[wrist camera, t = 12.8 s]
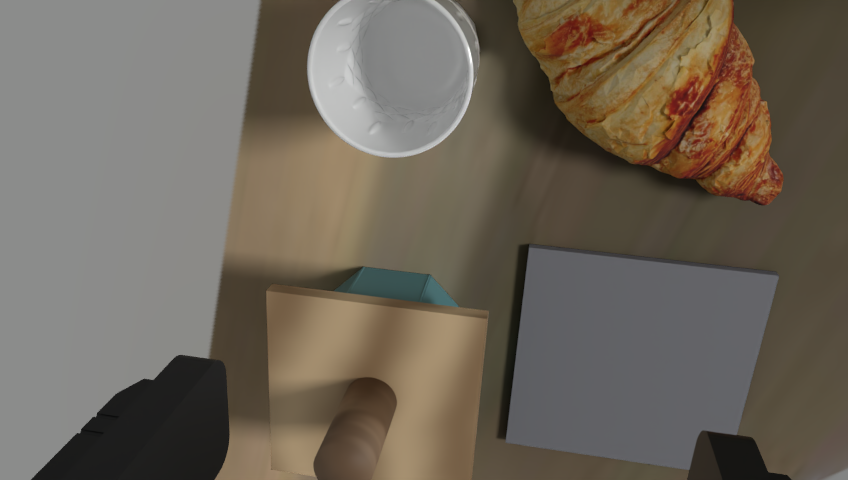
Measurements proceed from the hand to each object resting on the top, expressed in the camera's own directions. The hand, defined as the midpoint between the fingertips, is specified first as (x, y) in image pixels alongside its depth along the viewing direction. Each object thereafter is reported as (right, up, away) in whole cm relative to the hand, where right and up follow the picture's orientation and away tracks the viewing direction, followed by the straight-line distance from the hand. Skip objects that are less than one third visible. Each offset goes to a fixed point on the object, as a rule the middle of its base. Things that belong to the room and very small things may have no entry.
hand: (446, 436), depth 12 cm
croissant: (+12, +14, +29) cm, 34 cm away
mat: (+13, -5, +36) cm, 38 cm away
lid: (-3, -6, +33) cm, 33 cm away
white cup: (0, +15, +31) cm, 34 cm away
